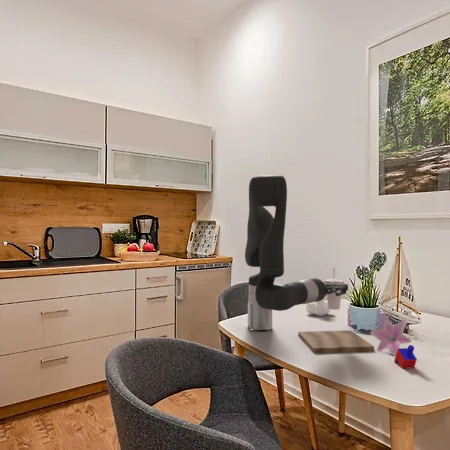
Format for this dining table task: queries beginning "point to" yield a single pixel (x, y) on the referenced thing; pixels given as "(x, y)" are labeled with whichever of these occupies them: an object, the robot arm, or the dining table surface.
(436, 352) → the dining table surface
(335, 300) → the smoothie
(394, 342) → the lily
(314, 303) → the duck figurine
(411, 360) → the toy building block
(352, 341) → the walnut board
